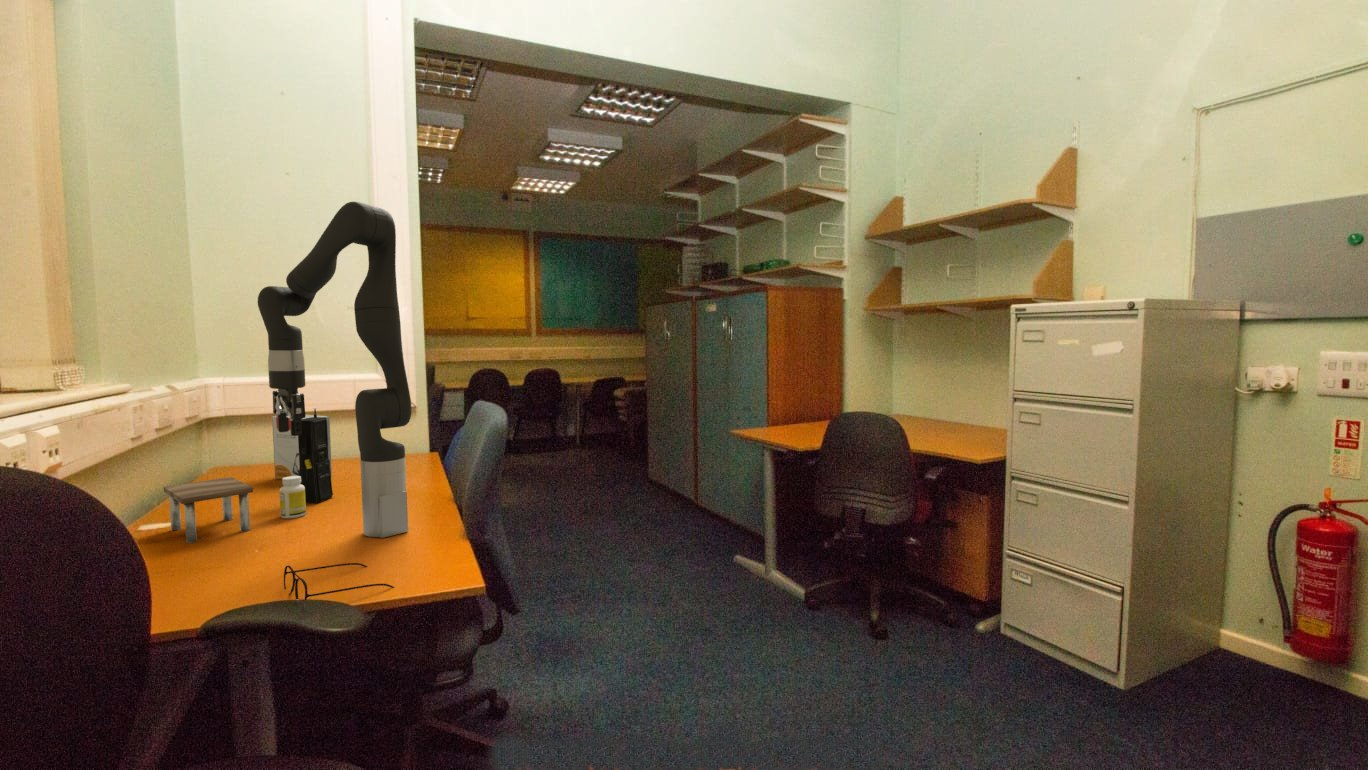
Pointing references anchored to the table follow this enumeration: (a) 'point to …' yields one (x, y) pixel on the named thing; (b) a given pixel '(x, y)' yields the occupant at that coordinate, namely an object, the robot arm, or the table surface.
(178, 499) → the small wooden stool
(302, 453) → the portable radio
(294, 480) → the supplement bottle
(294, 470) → the hard drive box
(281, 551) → the table surface
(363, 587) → the glasses
